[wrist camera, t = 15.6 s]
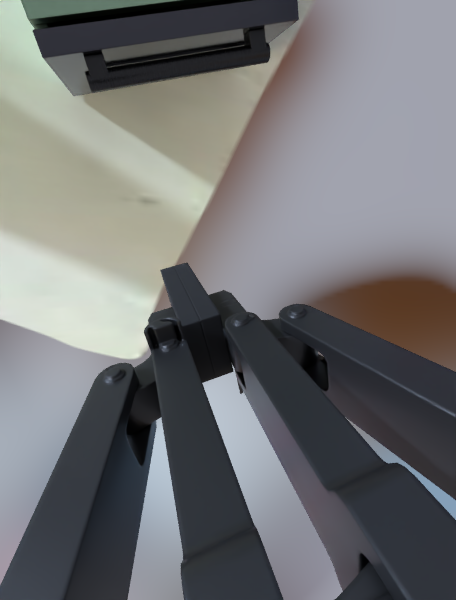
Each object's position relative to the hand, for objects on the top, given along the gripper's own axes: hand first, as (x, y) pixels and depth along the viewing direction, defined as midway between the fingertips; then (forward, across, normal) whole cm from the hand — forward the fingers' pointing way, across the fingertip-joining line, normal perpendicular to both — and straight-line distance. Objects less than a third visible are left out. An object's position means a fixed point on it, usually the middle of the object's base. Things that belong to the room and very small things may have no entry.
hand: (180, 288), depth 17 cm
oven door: (+29, +6, +14) cm, 33 cm away
